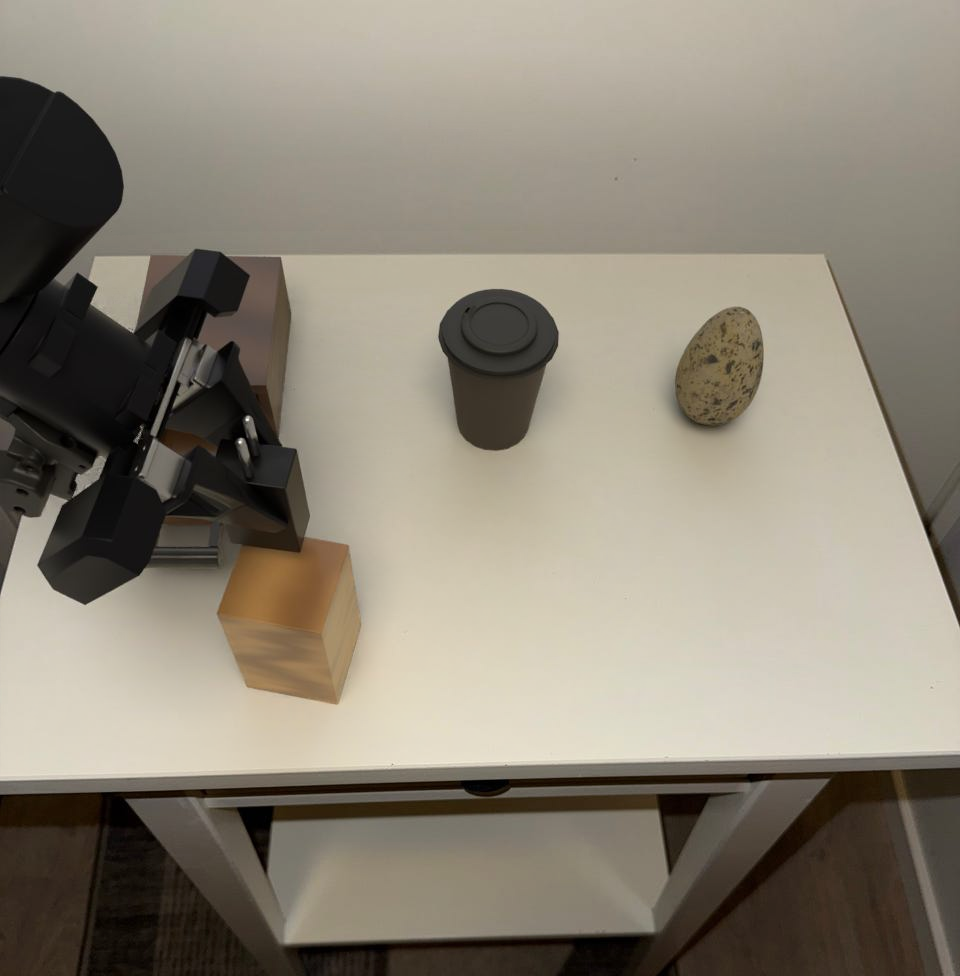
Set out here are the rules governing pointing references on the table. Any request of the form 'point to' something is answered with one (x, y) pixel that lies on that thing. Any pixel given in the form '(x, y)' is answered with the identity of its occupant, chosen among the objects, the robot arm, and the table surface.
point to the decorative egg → (721, 368)
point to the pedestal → (293, 618)
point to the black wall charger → (268, 488)
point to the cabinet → (248, 325)
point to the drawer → (188, 555)
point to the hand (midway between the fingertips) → (288, 505)
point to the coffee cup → (496, 363)
